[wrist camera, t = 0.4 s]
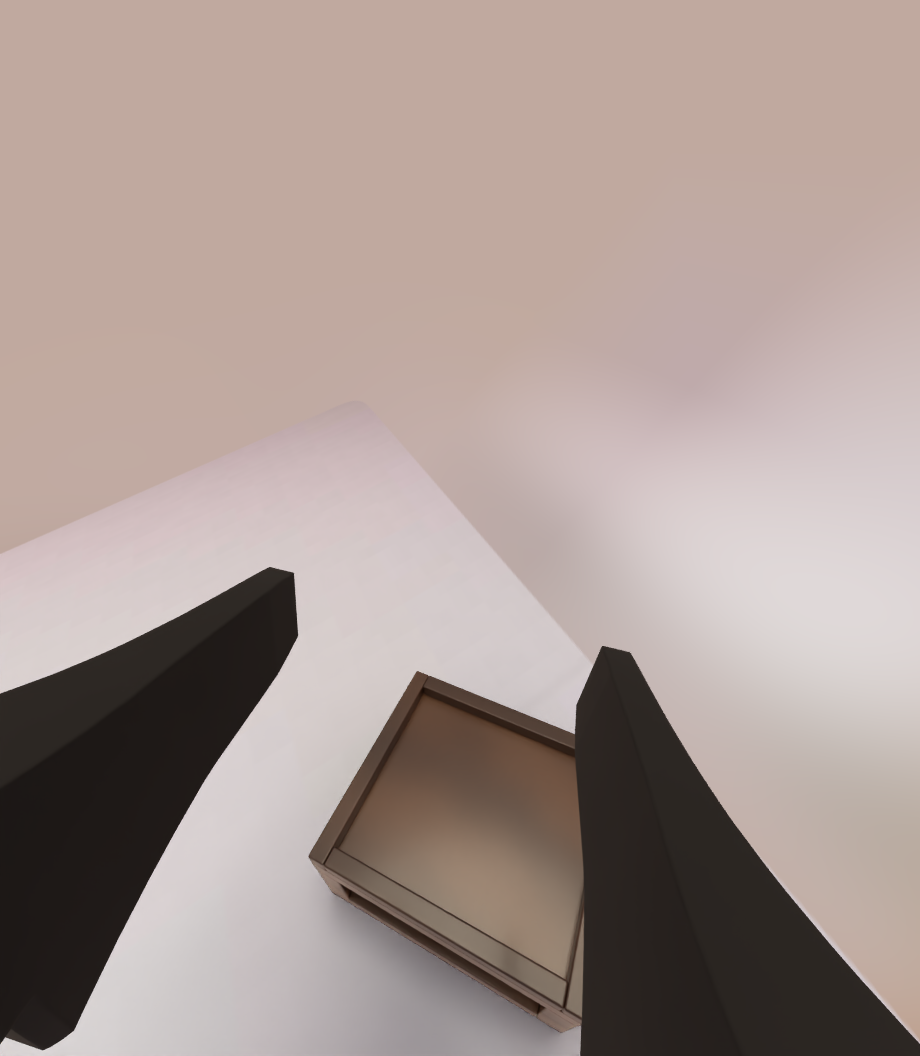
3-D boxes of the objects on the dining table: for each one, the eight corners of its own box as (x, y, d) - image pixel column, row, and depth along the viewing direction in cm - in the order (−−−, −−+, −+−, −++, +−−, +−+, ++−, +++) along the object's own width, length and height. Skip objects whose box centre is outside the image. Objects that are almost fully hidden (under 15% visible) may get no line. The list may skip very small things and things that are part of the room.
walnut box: (562, 1034, 19) (586, 1023, 16) (331, 892, 23) (307, 856, 20) (604, 800, 27) (627, 754, 23) (422, 720, 30) (416, 670, 27)
